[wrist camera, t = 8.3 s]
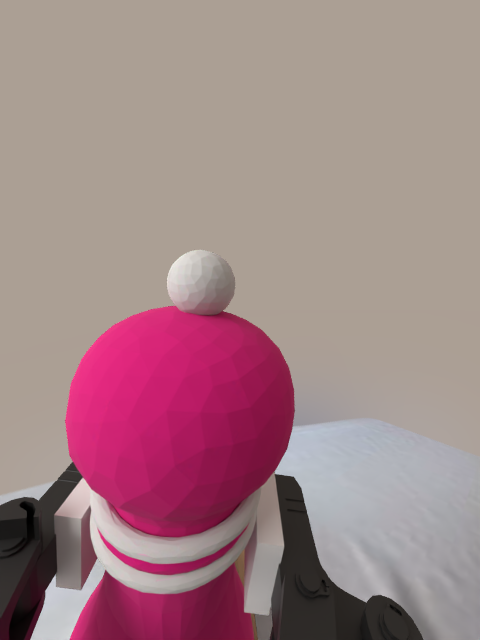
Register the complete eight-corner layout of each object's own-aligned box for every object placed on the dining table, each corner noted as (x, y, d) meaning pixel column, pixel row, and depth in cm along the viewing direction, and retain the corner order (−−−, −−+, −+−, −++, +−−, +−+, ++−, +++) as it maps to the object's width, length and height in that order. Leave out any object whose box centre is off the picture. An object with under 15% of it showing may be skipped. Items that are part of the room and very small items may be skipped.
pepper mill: (13, 774, 9) (-45, 212, 5) (162, 581, 16) (193, 252, 11) (137, 1112, 6) (288, 234, 2) (266, 690, 12) (369, 275, 8)
